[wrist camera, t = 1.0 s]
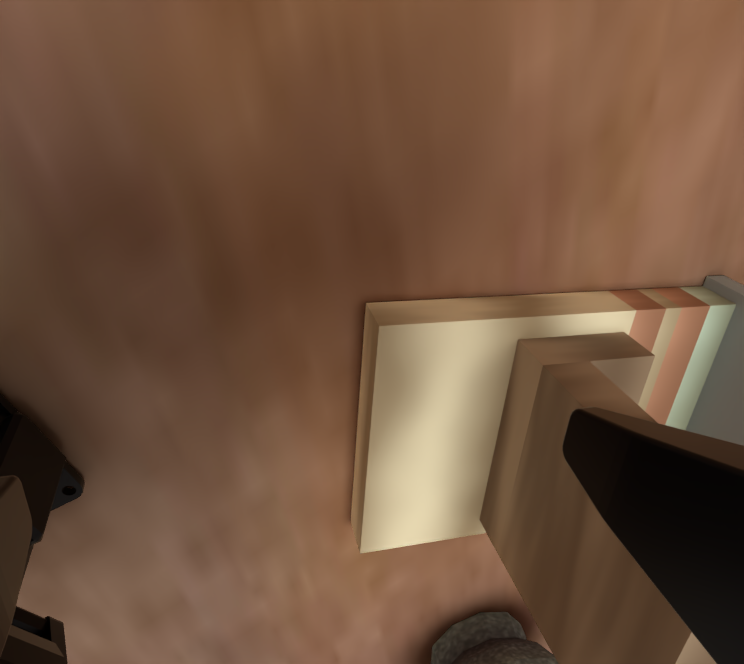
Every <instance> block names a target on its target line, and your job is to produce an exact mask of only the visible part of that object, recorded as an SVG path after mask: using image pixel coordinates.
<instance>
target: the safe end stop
mask: <svg viewBox="0 0 744 664" xmlns="http://www.w3.org/2000/svg"><path fill="white" fill-rule="evenodd" d="M703 286H704V287H706V288H707V289H709V290H711V291H713V292H715V293H717V294H718V295H720V296H722V297H724V298H726V299H727V300H729V301H731V302H733V303H735V304H736V306H735V309H734V311H733V314H732V316H731V319H730V321H729V324H728V326H727V329H726V331H725V334H724V336H723V339H722V341H721V343H720V346H719V348H718V351H717V353H716V356H715V358H714V361H713V363H712V366H711V368H710V371H709V373H708V376H707V378H706V381H705V383H704V385H703V388H702V390H701V393H700V395H699V398H698V400H697V403H696V405H695V408H694V410H693V413H692V415H691V418H690V420H689V423H688V425H687V428H686V431H690V432H694V433H697V434H701V435H705V436H709V437H713V438H717V439H720V440H724V441H728V442H732V443H736V444H739V445H743V446H744V285H742V284H740V283H738V282H736V281H734V280H732V279H730V278H728V277H726V276H724V275H721V276H706V279H705V282H704V284H703Z"/></svg>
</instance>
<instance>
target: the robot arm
mask: <svg viewBox="0 0 744 664" xmlns="http://www.w3.org/2000/svg"><path fill="white" fill-rule="evenodd" d="M562 451H563V455H564V458H565V460H566V462H567V464H568V465H569V467H570V468H571V470H572V472H573V473H574V475H575V476H576V478H577V479H578V481H579V483H580V484H581V486H582V487H583V489H584V490H585V492H586V494H587V495H588V497H589V498H590V500H591V501H592V503H593V505H594V506H595V508H596V509H597V511H598V512H599V514H600V515H601V517H602V518H603V520H604V521H605V523H606V524H607V525H608V527H609V528H610V529H611V531H612V532H613V533H614V534H615V536H616V537H617V538H618V539H619V541H620V542H621V543H622V544H623V546H624V547H625V548H626V550H627V551H628V552H629V553H630V555H631V556H632V557H633V558H634V560H635V561H636V562H637V564H638V565H639V566H640V567H641V569H642V570H643V571H644V572H645V574H646V575H647V576H648V577H649V579H650V580H651V581H652V583H653V584H654V585H655V586H656V588H657V589H658V590H659V591H660V593H661V594H662V595H663V596H664V598H665V599H666V600H667V602H668V603H669V604H670V605H671V607H672V608H673V609H674V610H675V612H676V613H677V614H678V616H679V617H680V618H681V619H682V621H683V622H684V623H685V624H686V626H687V627H688V628H689V629H690V631H691V632H692V633H693V635H694V636H695V637H696V638H697V640H698V641H699V642H700V643H701V645H702V646H703V647H704V648H705V650H706V651H707V652H708V654H709V655H710V656H711V657H712V659H713V660H714V661H715V662H716V664H744V446H743V445H739V444H736V443H732V442H728V441H724V440H720V439H717V438H713V437H709V436H705V435H701V434H697V433H694V432H690V431H686V430H682V429H678V428H675V427H671V426H667V425H663V424H659V423H655V422H652V421H648V420H644V419H640V418H636V417H632V416H629V415H625V414H621V413H617V412H613V411H610V410H606V409H602V408H598V407H585V408H577V409H575V410H573V411H572V413H571V415H570V418H569V421H568V425H567V429H566V432H565V436H564V440H563V444H562ZM65 486H73V487H75V488H72V489H71V488H67V487H65ZM83 489H84V480H83V479H82V477H81V476H80V475H79V474H78V473H77V472H76V471H75V470H74V469H73V468H72V467H71V466H70V465H69V464H68V463H67V462H66V461H65V456H64V455H63V454H62V453H61V452H60V451H59V450H58V449H57V448H56V447H55V446H54V445H53V444H52V443H51V442H50V441H49V439H48V438H47V437H46V436H45V435H44V434H43V433H42V432H41V431H40V430H39V429H38V428H37V427H36V426H35V425H34V424H33V423H32V422H31V421H30V420H29V419H28V418H27V417H26V416H25V415H24V414H21V413H19V412H18V411H17V410H16V409H15V408H14V407H13V406H12V405H11V404H10V403H9V402H8V401H7V400H6V399H5V398H4V397H3V396H2V394H1V393H0V664H67V655H66V645H65V635H64V626H63V622H61V621H58V620H56V619H54V618H52V617H49V616H47V617H45V618H43V617H40V616H38V615H36V614H33V613H31V612H29V611H27V610H24V609H22V608H20V607H17V606H16V603H17V599H18V594H19V591H20V588H21V584H22V581H23V578H24V575H25V571H26V568H27V565H28V562H29V558H30V555H31V552H32V549H33V545H34V544H36V543H38V542H40V541H41V540H42V538H43V534H44V531H45V527H46V524H47V521H48V517H49V514H50V511H51V510H53V509H56V508H58V507H60V506H62V505H64V504H66V503H68V502H70V501H72V500H74V499H77V498H78V497H79V496H81V494H82V492H83Z"/></svg>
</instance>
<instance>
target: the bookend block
mask: <svg viewBox="0 0 744 664" xmlns="http://www.w3.org/2000/svg"><path fill="white" fill-rule="evenodd" d="M654 358H655V355H654V354H652V353H651V352H650V351H648V350H647V349H646V348H645V347H643V346H642V345H641V344H639V343H638V342H637V341H635V340H634V339H633V338H631V337H630V336H629V335H627V334H626V333H625V332H614V333H601V334H587V335H573V336H559V337H545V338H531V339H518V342H517V346H516V351H515V356H514V360H513V365H512V370H511V374H510V379H509V384H508V388H507V393H506V398H505V402H504V407H503V412H502V416H501V421H500V426H499V430H498V435H497V440H496V444H495V449H494V454H493V458H492V463H491V468H490V472H489V477H488V482H487V486H486V491H485V496H484V500H483V505H482V510H481V514H480V519H479V520H480V522H481V524H482V526H483V527H484V529H485V531H486V533H487V535H488V536H489V538H490V540H491V542H492V544H493V546H494V547H495V549H496V551H497V553H498V555H499V556H500V558H501V560H502V562H503V564H504V566H505V567H506V569H507V571H508V573H509V575H510V576H511V578H512V580H513V582H514V584H515V586H516V587H517V589H518V591H519V593H520V595H521V596H522V598H523V600H524V602H525V604H526V606H527V607H528V609H529V611H530V613H531V615H532V616H533V618H534V620H535V622H536V624H537V626H538V627H539V629H540V631H541V633H542V635H543V636H544V638H545V640H546V642H547V644H548V646H549V647H550V649H551V651H552V653H553V655H554V656H555V658H556V660H557V662H558V664H716V662H715V661H714V660H713V659H712V657H711V656H710V655H709V654H708V652H707V651H706V650H705V648H704V647H703V646H702V645H701V643H700V642H699V641H698V640H697V638H696V637H695V636H694V635H693V633H692V632H691V631H690V629H689V628H688V627H687V626H686V624H685V623H684V622H683V621H682V619H681V618H680V617H679V616H678V614H677V613H676V612H675V610H674V609H673V608H672V607H671V605H670V604H669V603H668V602H667V600H666V599H665V598H664V596H663V595H662V594H661V593H660V591H659V590H658V589H657V588H656V586H655V585H654V584H653V583H652V581H651V580H650V579H649V577H648V576H647V575H646V574H645V572H644V571H643V570H642V569H641V567H640V566H639V565H638V564H637V562H636V561H635V560H634V558H633V557H632V556H631V555H630V553H629V552H628V551H627V550H626V548H625V547H624V546H623V544H622V543H621V542H620V541H619V539H618V538H617V537H616V536H615V534H614V533H613V532H612V531H611V529H610V528H609V527H608V525H607V524H606V523H605V521H604V520H603V518H602V517H601V515H600V514H599V512H598V511H597V509H596V508H595V506H594V505H593V503H592V501H591V500H590V498H589V497H588V495H587V494H586V492H585V490H584V489H583V487H582V486H581V484H580V483H579V481H578V479H577V478H576V476H575V475H574V473H573V472H572V470H571V468H570V467H569V465H568V464H567V462H566V460H565V458H564V455H563V451H562V444H563V440H564V436H565V432H566V429H567V425H568V421H569V418H570V415H571V413H572V411H573V410H575V409H577V408H585V407H598V408H602V409H606V410H610V411H613V412H617V413H621V414H625V415H629V416H632V417H636V418H640V419H644V420H648V421H652V422H655V423H658V422H656V421H655V420H654V419H653V418H652V417H651V416H650V415H649V414H648V413H646V412H645V411H644V410H643V409H642V408H641V407H640V406H639V405H638V404H639V401H640V398H641V395H642V392H643V389H644V387H645V384H646V381H647V378H648V375H649V372H650V369H651V366H652V364H653V361H654Z"/></svg>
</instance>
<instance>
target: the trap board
mask: <svg viewBox="0 0 744 664" xmlns="http://www.w3.org/2000/svg"><path fill="white" fill-rule="evenodd" d="M735 306H736V304H735V303H733V302H731V301H729V300H727V299H726V298H724V297H722V296H720V295H718V294H717V293H715V292H713V291H711V290H709V289H707V288H706V287H704V286H694V287H674V288H654V289H634V290H614V291H594V292H574V293H554V294H534V295H514V296H494V297H474V298H454V299H434V300H414V301H394V302H374V303H366V309H365V323H364V337H363V351H362V366H361V380H360V394H359V408H358V422H357V437H356V451H355V465H354V479H353V493H352V508H351V525H352V528H353V532H354V535H355V538H356V542H357V545H358V548H359V552H360V554H361V553H367V552H373V551H379V550H385V549H391V548H397V547H403V546H409V545H415V544H422V543H428V542H434V541H440V540H446V539H452V538H458V537H464V536H470V535H476V534H483V533H486V531H485V529H484V527H483V526H482V524H481V522H480V520H479V519H480V514H481V510H482V505H483V500H484V496H485V491H486V486H487V482H488V477H489V472H490V468H491V463H492V458H493V454H494V449H495V444H496V440H497V435H498V430H499V426H500V421H501V416H502V412H503V407H504V402H505V398H506V393H507V388H508V384H509V379H510V374H511V370H512V365H513V360H514V356H515V351H516V346H517V342H518V339H531V338H545V337H559V336H573V335H587V334H601V333H614V332H625V333H626V334H627V335H629V336H630V337H631V338H633V339H634V340H635V341H637V342H638V343H639V344H641V345H642V346H643V347H645V348H646V349H647V350H648V351H650V352H651V353H652V354H654V355H655V358H654V361H653V364H652V366H651V369H650V372H649V375H648V378H647V381H646V384H645V387H644V389H643V392H642V395H641V398H640V401H639V404H638V405H639V406H640V407H641V408H642V409H643V410H644V411H645V412H646V413H648V414H649V415H650V416H651V417H652V418H653V419H654V420H655V421H656V422H658V423H659V424H663V425H667V426H671V427H675V428H678V429H682V430H686V428H687V425H688V423H689V420H690V418H691V415H692V413H693V410H694V408H695V405H696V403H697V400H698V398H699V395H700V393H701V390H702V388H703V385H704V383H705V381H706V378H707V376H708V373H709V371H710V368H711V366H712V363H713V361H714V358H715V356H716V353H717V351H718V348H719V346H720V343H721V341H722V339H723V336H724V334H725V331H726V329H727V326H728V324H729V321H730V319H731V316H732V314H733V311H734V309H735Z"/></svg>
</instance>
